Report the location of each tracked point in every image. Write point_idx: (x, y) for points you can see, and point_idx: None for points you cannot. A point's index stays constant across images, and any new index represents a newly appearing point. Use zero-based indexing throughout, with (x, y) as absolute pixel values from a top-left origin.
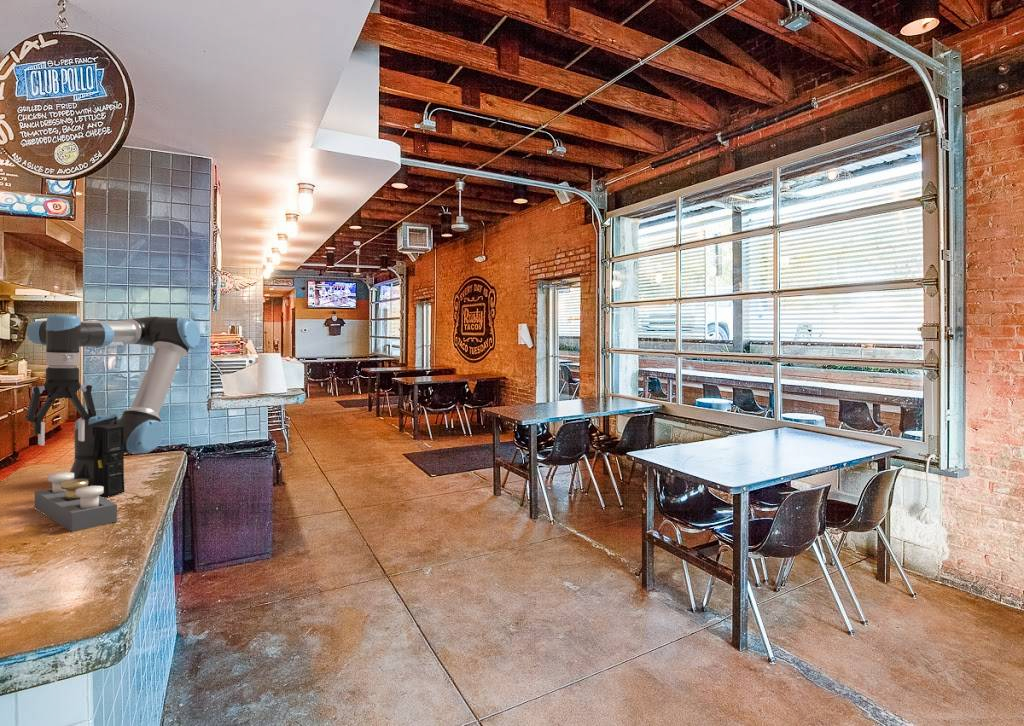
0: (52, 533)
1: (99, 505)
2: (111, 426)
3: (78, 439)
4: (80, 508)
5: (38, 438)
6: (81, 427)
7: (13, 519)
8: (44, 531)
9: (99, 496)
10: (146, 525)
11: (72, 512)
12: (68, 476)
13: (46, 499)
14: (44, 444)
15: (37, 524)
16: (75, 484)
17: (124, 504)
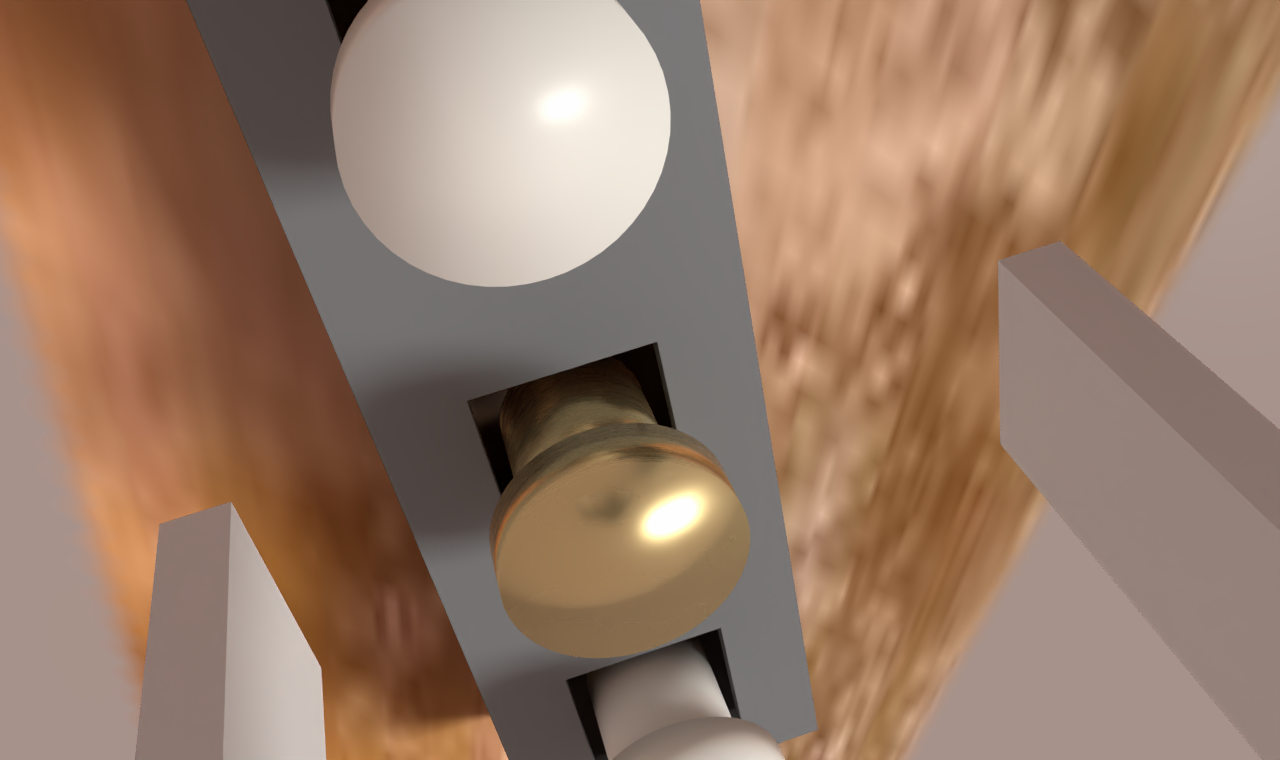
0: (404, 701)
1: (722, 647)
2: None
3: (1011, 293)
4: (595, 713)
5: (161, 671)
6: (1219, 697)
7: (47, 245)
8: (353, 650)
9: (769, 485)
10: (880, 729)
11: None
12: (588, 257)
13: (337, 351)
14: (319, 680)
15: (287, 482)
16: (619, 649)
17: (938, 201)
